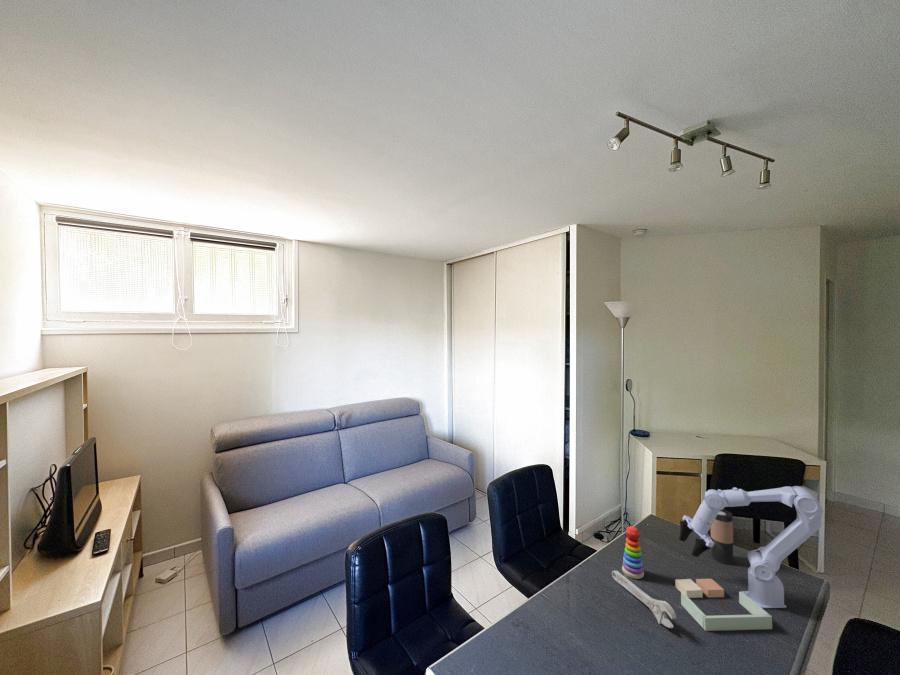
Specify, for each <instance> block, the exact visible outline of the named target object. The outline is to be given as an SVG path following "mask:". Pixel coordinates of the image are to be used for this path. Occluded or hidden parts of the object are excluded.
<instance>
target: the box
mask: <svg viewBox="0 0 900 675" xmlns="http://www.w3.org/2000/svg"><path fill="white" fill-rule="evenodd" d="M738 603H739V604H740V605H741V606H742V607H743V608H744V609H746V611H748V612H749V613H750V614H728V615H727V614H726V615H725V614H723V615H719V614H717V615H706V614H705V613H704V612H703V611H702V609H700V608H699V606H697V605H696V603H695V602H694V601H692V600H691V598H688V597H687V596H686V595H685V594H684V593H681V592H680V605H681V606H682V607H683V608H684V609H685V610H686V611H687V612H688V614H689V615H690V616H691V617H692V618H693V619H694V620H695V621H696V622H697V623H698V624H699V626H701V628H702V629H703V630H704V631H705V632H707V631H708V632H709V631H710V632H711V631H713V632H715V631H747V630H748V631H750V630H751V631H752V630H755V631H756V630H773V616H772V615H771V614H769V613H768V612H767V611H766V610H765V609H764V608H761V607H760V606H759V605H757V604H756V603H755V602H754V601H753V600H751V599H750V598H749V597H748V596H747V595H745V594H744V593H743V592H742V591H739V592H738Z"/></svg>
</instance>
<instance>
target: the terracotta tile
mask: <svg viewBox="0 0 900 675" xmlns="http://www.w3.org/2000/svg"><path fill="white" fill-rule="evenodd" d="M695 583H696V584H697V585H698V586H699V587H700V588H701V589H702V590H703V595H705V596H706V597H707V598H725V589H724V588H723V587H722V586H721V585H720V584H719V583H717V582H716V581H715V580H713V578H695Z"/></svg>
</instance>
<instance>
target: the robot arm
mask: <svg viewBox="0 0 900 675" xmlns="http://www.w3.org/2000/svg"><path fill="white" fill-rule="evenodd" d="M760 502H761V503H762V502H779V503H782V504H784V505H786V506H788V507H790V508H793V505H794V508H795V510H796V514H797V518H796V519H795V520H794V521H792V522H791V523H790V524H789V525H788V526H787V527H785V529H783V530H782V531H781V532H779V534H778V535H776V537H774V538H773V539H772V540H771V541H769V542H768V543H767V545H766V546H759V547H758V548H757V549H754V550H750V551H749V552H748V553H747V559H748V562H749V564H750V566H749V567H748V568H747V579H748V580H747V590H741V592H743V593H744V594H745V595H747V596H748V597H749V598H750V599H751V600H753V601H754V602H755V603H756V604H757V605H759V606H760V607H761V608H762V609H786V608H787V607H788V606H787V605H785V587H784V583H783V582H782V581H781V579H780V578H779V577H778V576H777V575H776V574H777V572H778V571H779V570H780V569H781V568H780V567H781V563H782V561H784V560H785V559H786V558H787V557H788V556H790V554H792V553H793V552H794V551H795V550H797V549H798V548H799V547H800V546H801V545H802V544H803V543H804V542H806V541H807V540H808V539H809V538H810V537H811V536H813V535H814V534H815V533H816V532H817V531H819V529H820V528H821V527H822V514H823V513H824V510H823V508H822V506H821V504H820V502H819V501H818V499H816V498H815V497H814V496H813V494H812V493H811V491H810V490H809V489H808V488H805V487H803V486H801V485H800V486H799V485H794V486H786V485H785V486H782V487H776V488H769V489H768V488H767V489H761V490H760V489H759V490H753V491H752V490H751V491H746V490H744V489H742V488H737V487H735V486H734V487H732V488H731V489H723V490H722V489H721V488H720V489H719V488H718V489H717V490H716V489H712V488H711V489H708V490H707V491H705V492H704V498H703V500H702V502H701V503H700V505H699V506H698V509H697V510H696V512H695V514H694V516H693V518H691V517H690V516H688V515H686V514H684V515H683V517H682V520H680V521H679V525H680V526H679V527H680V531H679V532H680V533H679V538H678V540H679V541H682V542H686V541H687V540H688V538H689V536H690V535H691V534H692V533H693V532H694V533H696V534H697V535H698V537H700V538H695V544H694V547H693V549H692V551H691V555H692V557H697V558H698V557H699V556H700V555H702V554H704V553H705V552H706V551H708V550H711V548H712V547H713V545H714V543H713V541H712V540H711V536H710V535H709V531H710V530H711V526H712V524H713V522H714V520H715V518H716V516H717V515H718V512H719V510H722V509H724V510H725V508H730V507H731V508H733V507H745V506H746V507H748V506H749V505H750V504H751V503H760Z"/></svg>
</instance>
